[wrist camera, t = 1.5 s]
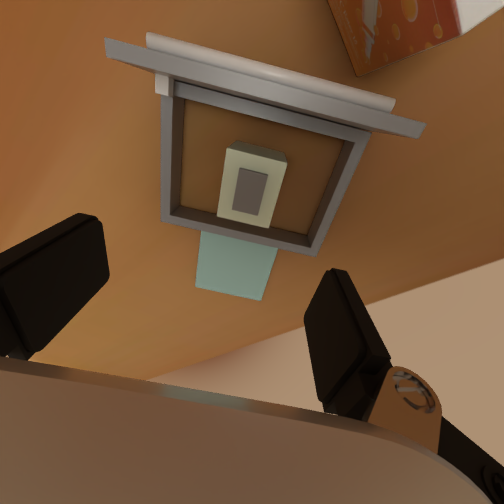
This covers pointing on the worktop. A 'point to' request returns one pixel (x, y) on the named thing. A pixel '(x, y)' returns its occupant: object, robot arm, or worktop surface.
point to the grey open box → (266, 92)
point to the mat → (233, 265)
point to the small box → (403, 27)
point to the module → (251, 183)
